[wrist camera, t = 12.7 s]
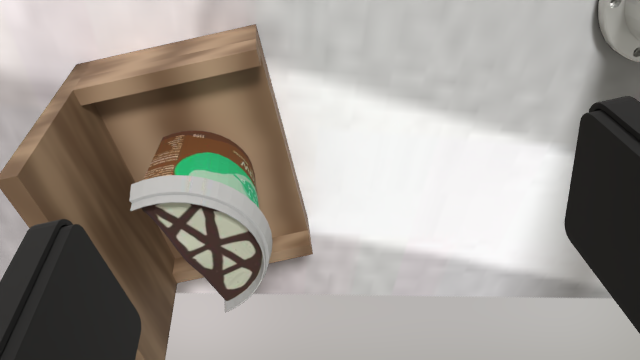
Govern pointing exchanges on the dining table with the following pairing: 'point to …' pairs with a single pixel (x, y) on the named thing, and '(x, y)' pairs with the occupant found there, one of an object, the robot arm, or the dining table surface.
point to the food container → (208, 210)
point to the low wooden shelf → (138, 151)
